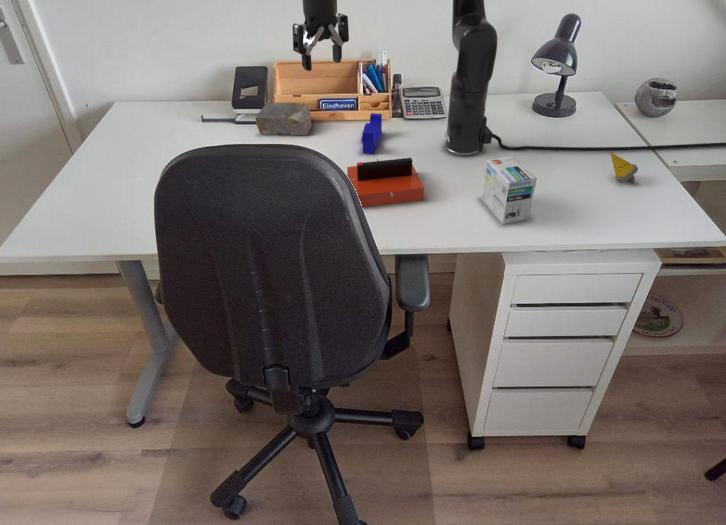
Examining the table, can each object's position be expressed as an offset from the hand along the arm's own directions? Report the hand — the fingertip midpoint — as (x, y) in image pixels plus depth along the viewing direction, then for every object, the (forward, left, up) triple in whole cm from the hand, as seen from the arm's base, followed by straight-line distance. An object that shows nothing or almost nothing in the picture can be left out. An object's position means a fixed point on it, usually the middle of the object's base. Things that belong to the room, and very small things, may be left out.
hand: (322, 65), depth 128 cm
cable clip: (-12, -6, -25) cm, 28 cm away
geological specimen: (+10, -21, -25) cm, 34 cm away
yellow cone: (-68, +26, -25) cm, 77 cm away
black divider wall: (-11, +18, -21) cm, 30 cm away
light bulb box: (-36, +32, -25) cm, 54 cm away
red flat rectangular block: (-11, +18, -25) cm, 32 cm away
